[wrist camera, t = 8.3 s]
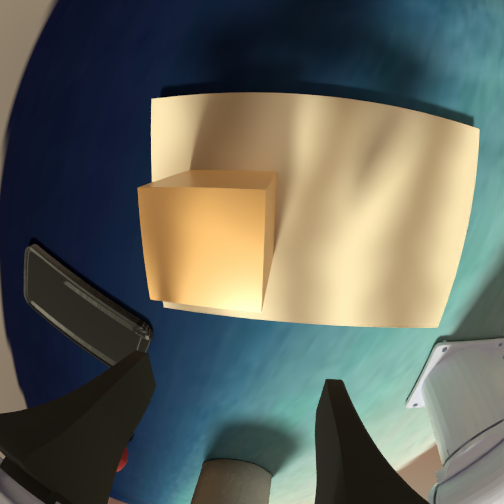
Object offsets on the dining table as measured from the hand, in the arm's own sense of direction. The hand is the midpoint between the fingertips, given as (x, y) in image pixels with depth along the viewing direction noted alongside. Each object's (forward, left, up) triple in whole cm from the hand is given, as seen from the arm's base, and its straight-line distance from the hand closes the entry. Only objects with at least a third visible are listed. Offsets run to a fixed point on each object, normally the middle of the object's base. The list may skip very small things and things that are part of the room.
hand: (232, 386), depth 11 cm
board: (-3, -5, -9) cm, 11 cm away
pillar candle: (+2, +30, -10) cm, 32 cm away
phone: (+17, +5, -10) cm, 20 cm away
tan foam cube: (+2, -5, -8) cm, 10 cm away
